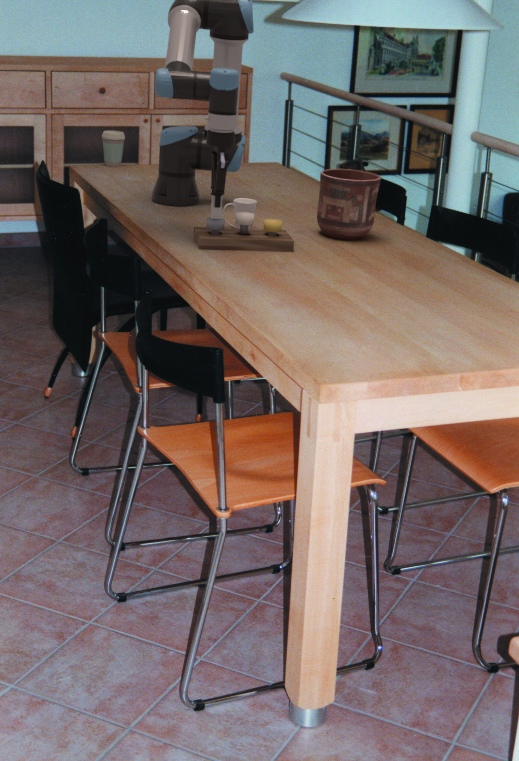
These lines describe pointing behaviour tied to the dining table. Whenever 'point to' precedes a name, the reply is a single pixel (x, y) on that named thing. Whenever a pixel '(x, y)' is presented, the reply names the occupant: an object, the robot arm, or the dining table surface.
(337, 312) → the dining table surface
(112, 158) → the coffee cup
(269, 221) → the mustard button
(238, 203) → the cup
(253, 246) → the panel
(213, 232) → the slate button
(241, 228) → the cream button
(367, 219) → the pottery
